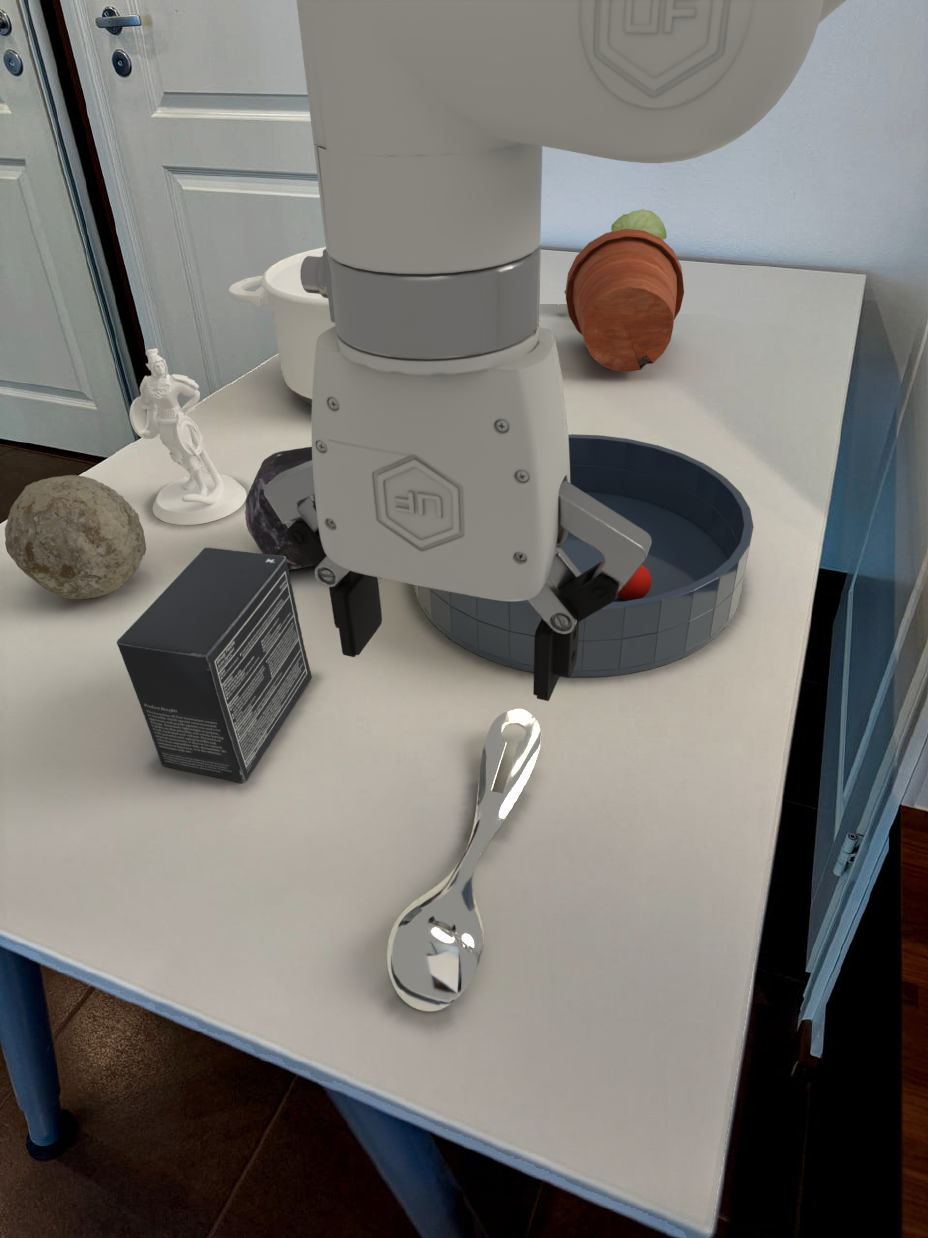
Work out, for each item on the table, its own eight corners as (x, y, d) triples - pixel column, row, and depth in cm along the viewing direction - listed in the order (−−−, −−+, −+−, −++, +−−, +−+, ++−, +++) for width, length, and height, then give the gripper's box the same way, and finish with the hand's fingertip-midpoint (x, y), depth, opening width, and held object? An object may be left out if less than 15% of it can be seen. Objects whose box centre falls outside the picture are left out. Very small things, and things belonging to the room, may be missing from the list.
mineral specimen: (338, 585, 68) (277, 470, 64) (256, 593, 75) (197, 489, 71) (408, 525, 75) (357, 416, 71) (327, 537, 82) (277, 439, 78)
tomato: (652, 590, 69) (656, 557, 67) (645, 612, 66) (649, 579, 65) (615, 583, 70) (617, 551, 68) (606, 604, 67) (608, 572, 66)
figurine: (132, 513, 82) (84, 357, 73) (194, 472, 89) (157, 324, 80) (206, 532, 79) (166, 372, 70) (265, 488, 85) (235, 335, 76)
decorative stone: (178, 568, 75) (148, 461, 69) (119, 626, 68) (81, 515, 62) (76, 552, 77) (39, 448, 71) (11, 607, 71) (-36, 498, 65)
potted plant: (690, 396, 103) (667, 281, 129) (700, 265, 93) (673, 169, 119) (556, 402, 105) (560, 288, 131) (552, 275, 95) (557, 178, 121)
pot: (531, 357, 110) (533, 242, 102) (498, 438, 92) (496, 306, 84) (285, 346, 117) (267, 237, 108) (208, 420, 99) (180, 295, 90)
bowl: (756, 517, 78) (768, 455, 74) (716, 711, 58) (729, 641, 55) (477, 476, 86) (475, 419, 82) (359, 636, 66) (350, 570, 63)
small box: (233, 663, 64) (202, 541, 58) (315, 677, 63) (292, 553, 56) (154, 766, 56) (108, 638, 50) (246, 785, 55) (210, 655, 48)
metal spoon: (485, 680, 56) (558, 693, 54) (487, 718, 58) (557, 732, 57) (368, 970, 41) (463, 996, 40) (377, 1006, 44) (467, 1031, 42)
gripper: (175, 311, 32) (257, 670, 42) (654, 360, 27) (612, 756, 37) (280, 255, 37) (330, 585, 48) (693, 287, 32) (647, 649, 42)
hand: (453, 659), depth 42 cm, fingers open, 9 cm apart
